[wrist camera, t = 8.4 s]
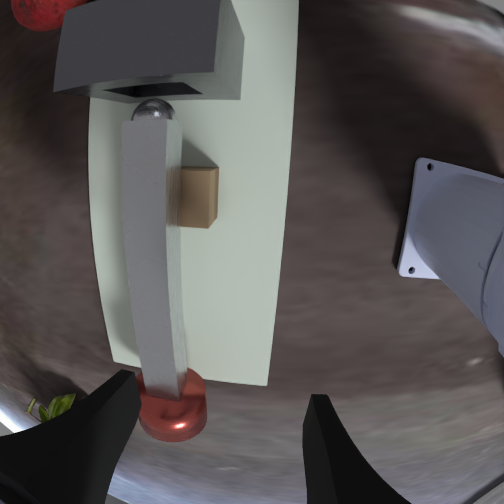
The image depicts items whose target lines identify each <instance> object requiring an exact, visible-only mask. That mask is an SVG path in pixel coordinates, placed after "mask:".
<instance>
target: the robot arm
mask: <svg viewBox="0 0 504 504" xmlns="http://www.w3.org/2000/svg"><path fill="white" fill-rule="evenodd" d="M429 163H430V164H431V169H430V170H428V169H427V165H428V164H429ZM410 267H413V269H412V271H411V272H408V270H409V268H410ZM397 271H398V273H399V274H400V275H401V276H403V277H417V278H431V279H441V280H442V281H443V282H444V283H445V284H446V285H447V286H448V287H449V288H450V289H451V290H452V291H453V293H454V294H455V295H456V296H457V297H458V298H459V299H460V300H461V301H462V302H463V303H464V304H465V305H466V306H467V307H468V308H469V309H470V311H471V312H472V313H473V314H474V315H475V316H476V317H477V318H478V319H479V320H480V322H481V323H482V324H483V325H484V326H485V327H486V328H487V329H488V330H489V332H490V333H491V334H492V335H493V337H494V338H495V339H496V340H497V341H498V344H499V348H498V351H499V352H500V353H501V355H502V356H503V357H504V179H502V178H499V177H496V176H493V175H489V174H486V173H483V172H479V171H475V170H472V169H468V168H464V167H461V166H457V165H453V164H449V163H445V162H440V161H436V160H432V159H427V158H418V159H417V160H416V163H415V169H414V178H413V185H412V192H411V199H410V205H409V211H408V217H407V223H406V228H405V234H404V239H403V244H402V249H401V253H400V258H399V262H398V267H397ZM141 406H142V402H141V398H140V394H139V390H138V386H137V381H136V377H135V373H134V372H131V371H127V370H123V369H121V370H120V371H119V372H117V373H116V374H115V375H114V376H112V377H111V378H110V379H109V380H107V381H106V382H105V383H104V384H102V385H101V386H100V387H99V388H97V389H96V390H95V391H94V392H92V393H91V394H90V395H88V396H87V397H86V398H84V399H83V400H81V401H80V402H79V403H77V404H76V405H74V406H73V407H71V408H70V409H68V410H67V411H65V412H63V413H62V414H60V415H58V416H56V417H54V418H52V419H50V420H48V421H46V422H44V423H41V424H39V425H37V426H34V427H32V428H29V429H26V430H24V431H20V432H17V433H13V434H10V435H5V436H0V504H105V500H106V496H107V492H108V489H109V485H110V482H111V479H112V476H113V473H114V469H115V467H116V465H117V462H118V460H119V458H120V456H121V454H122V452H123V450H124V447H125V445H126V443H127V441H128V439H129V437H130V435H131V433H132V431H133V429H134V427H135V424H136V422H137V419H138V416H139V413H140V409H141ZM302 447H303V457H304V467H305V476H306V486H307V504H411V503H410V502H409V501H407V500H406V499H405V498H403V497H402V496H401V495H400V494H398V493H397V492H396V491H395V490H394V489H393V488H392V487H391V486H390V485H389V484H387V483H386V482H385V481H384V480H383V479H382V478H381V477H380V476H379V475H378V474H377V472H376V471H375V470H374V469H373V468H372V467H371V466H370V464H369V463H368V462H367V461H366V459H365V458H364V457H363V456H362V454H361V453H360V451H359V450H358V449H357V447H356V446H355V444H354V443H353V441H352V440H351V438H350V436H349V435H348V433H347V431H346V430H345V428H344V426H343V425H342V423H341V421H340V419H339V417H338V415H337V414H336V412H335V410H334V408H333V405H332V403H331V401H330V399H329V397H328V396H327V395H323V394H311V398H310V401H309V405H308V409H307V412H306V416H305V419H304V423H303V446H302Z"/></svg>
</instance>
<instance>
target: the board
mask: <svg viewBox="0 0 504 504" xmlns="http://www.w3.org/2000/svg"><path fill="white" fill-rule="evenodd" d="M231 1H232V4H233V7H234V9H235V12H236V15H237V17H238V20H239V23H240V26H241V28H242V31H243V34H244V37H245V41H244V55H243V69H242V84H241V99H240V100H175V101H166V102H168V103H169V104H170V105H171V106H172V107H173V108H174V110H175V112H176V116H177V121H182V122H183V126H182V150H181V166H197V167H219V185H218V213H217V219H216V220H215V221H214V222H213V224H212V225H211V226H210V227H209V229H205V228H191V227H180V230H181V276H182V301H183V320H184V336H185V350H186V363H187V367H188V368H190V369H192V370H194V371H195V372H197V373H198V374H199V375H200V376H201V377H202V379H209V380H216V381H224V382H232V383H241V384H251V385H262V386H267V379H268V372H269V364H270V355H271V347H272V339H273V330H274V322H275V313H276V304H277V295H278V285H279V276H280V266H281V256H282V246H283V235H284V224H285V213H286V202H287V190H288V178H289V165H290V152H291V139H292V124H293V109H294V93H295V75H296V56H297V34H298V8H299V0H231ZM139 104H141V103H131V104H127V103H122V102H116V101H110V100H105V99H98V98H92V97H90V112H89V142H88V166H89V196H90V213H91V226H92V236H93V246H94V255H95V263H96V270H97V277H98V284H99V290H100V296H101V302H102V308H103V313H104V318H105V324H106V328H107V333H108V338H109V342H110V347H111V351H112V355H113V359H114V362H118V363H123V364H127V365H131V366H136V367H141V363H140V358H139V353H138V347H137V341H136V335H135V329H134V323H133V316H132V309H131V301H130V294H129V285H128V276H127V267H126V256H125V244H124V229H123V210H122V173H121V155H122V122H123V121H131V116H132V114H133V112H134V110H135V108H136V107H137V106H138V105H139Z"/></svg>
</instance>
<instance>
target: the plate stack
mask: <svg viewBox="0 0 504 504" xmlns="http://www.w3.org/2000/svg"><path fill="white" fill-rule="evenodd" d="M473 504H504V482H503V483H501V484H500V485H498V486H497V487H495V488H494V489H492V490H491V491H490V492H488V493H487V494H485V495H484V496H482V497H481V498H480V499H478V500H477V501H476V502H474V503H473Z"/></svg>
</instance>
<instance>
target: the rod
mask: <svg viewBox="0 0 504 504" xmlns="http://www.w3.org/2000/svg"><path fill="white" fill-rule="evenodd" d="M182 126H183V122H182V121H177V116H176V112H175V110H174V108H173V107H172V106H171V105H170V104H169V103H168V102H166V101H164V100H162V99H149V100H146V101H144V102H142V103H141V104H139V105H138V106H137V107H136V108H135V110H134V112H133V114H132V116H131V121H123V122H122V155H121V173H122V210H123V229H124V244H125V256H126V267H127V276H128V285H129V294H130V301H131V309H132V316H133V323H134V329H135V335H136V341H137V347H138V353H139V358H140V363H141V368H142V372H141V373H140V374H139V375H138V376H137V377H136V381H137V386H138V390H139V394H140V398H141V402H142V406H141V409H140V413H139V416H138V418H139V421H140V424H141V426H142V428H143V429H144V430H145V431H146V432H147V433H148V434H149V435H150V436H152V437H154V438H156V439H158V440H161V441H166V442H180V441H185V440H188V439H191V438H193V437H194V436H196V435H197V434H199V433H200V432H201V431H202V429H203V428H204V426H205V424H206V422H207V405H206V387H205V383H204V380H203V379H202V377H201V376H200V375H199V374H198V373H197V372H195V371H194V370H192V369H190V368H188V367H187V363H186V350H185V336H184V320H183V301H182V276H181V230H180V196H181V150H182Z"/></svg>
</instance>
